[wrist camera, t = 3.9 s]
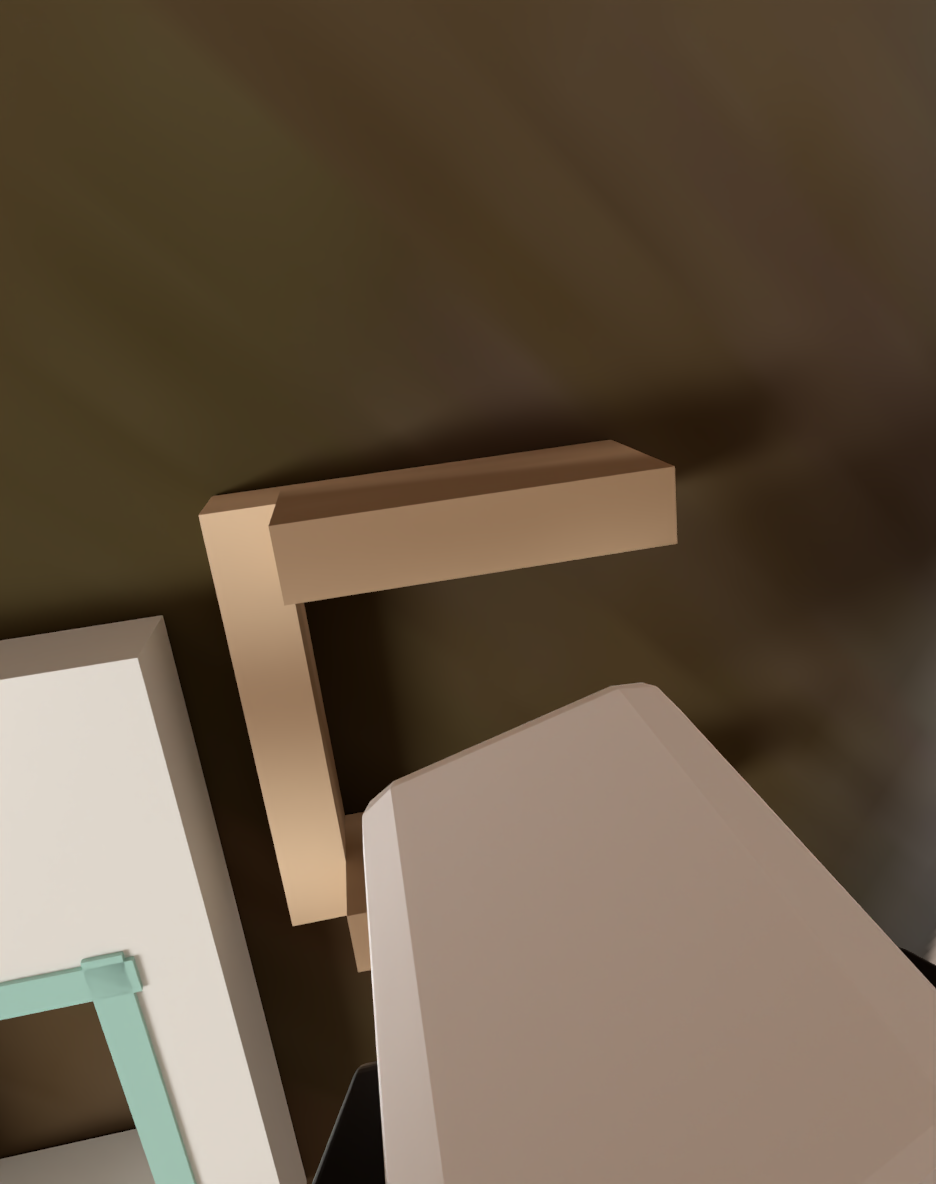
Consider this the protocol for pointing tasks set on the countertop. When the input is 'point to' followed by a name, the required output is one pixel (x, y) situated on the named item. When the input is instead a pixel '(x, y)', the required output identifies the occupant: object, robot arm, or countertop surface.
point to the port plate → (131, 913)
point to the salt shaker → (630, 972)
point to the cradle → (378, 562)
